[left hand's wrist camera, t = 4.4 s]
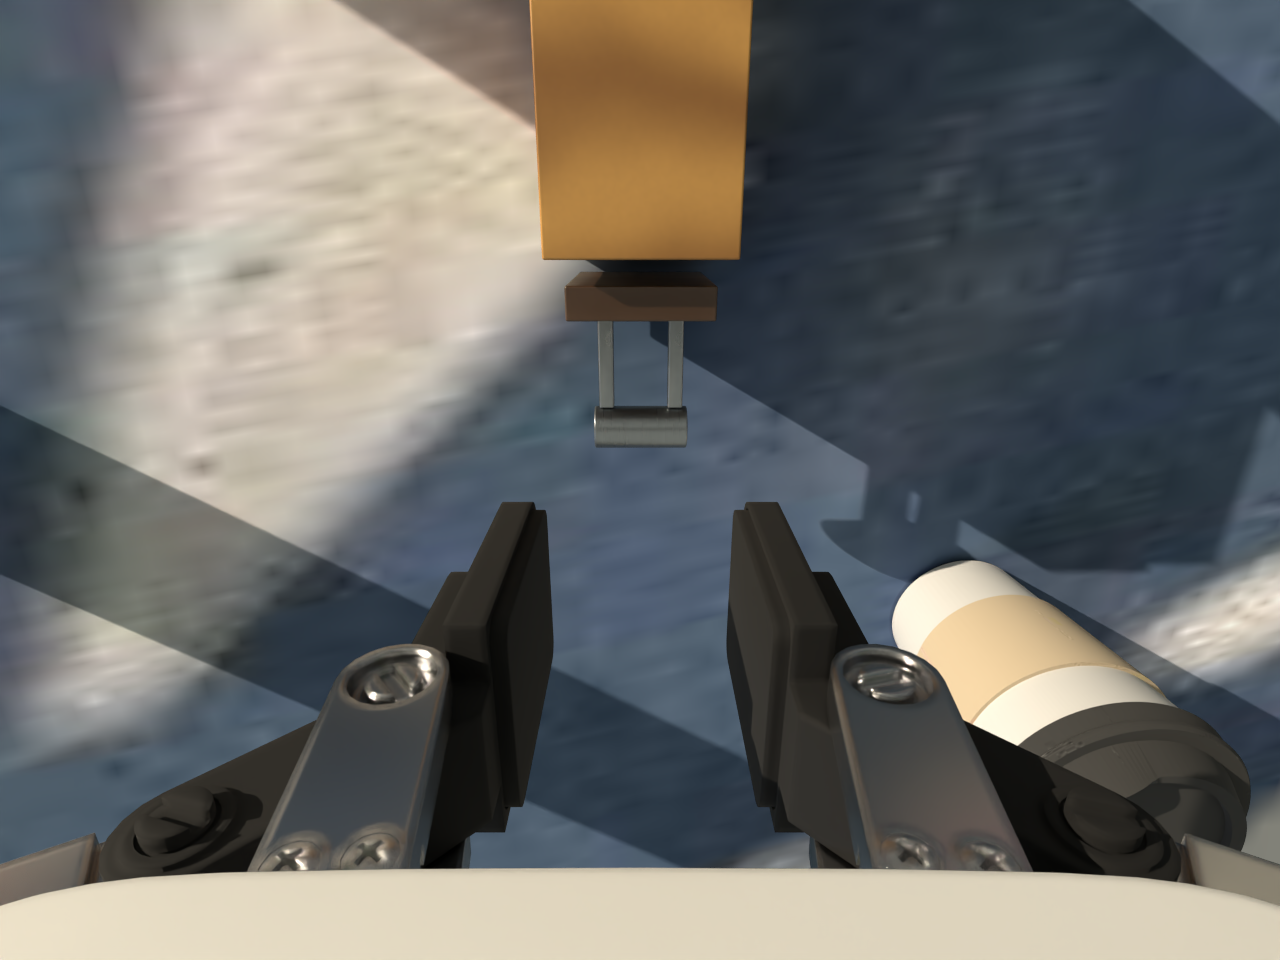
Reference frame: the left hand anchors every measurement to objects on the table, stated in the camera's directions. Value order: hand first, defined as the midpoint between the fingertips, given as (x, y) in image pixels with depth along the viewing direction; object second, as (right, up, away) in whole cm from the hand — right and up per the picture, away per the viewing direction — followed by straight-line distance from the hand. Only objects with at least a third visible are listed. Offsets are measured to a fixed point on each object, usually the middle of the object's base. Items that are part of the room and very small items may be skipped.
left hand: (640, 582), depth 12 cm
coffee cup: (+17, -5, +25) cm, 31 cm away
